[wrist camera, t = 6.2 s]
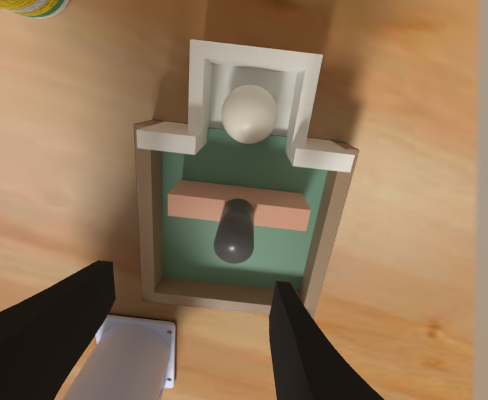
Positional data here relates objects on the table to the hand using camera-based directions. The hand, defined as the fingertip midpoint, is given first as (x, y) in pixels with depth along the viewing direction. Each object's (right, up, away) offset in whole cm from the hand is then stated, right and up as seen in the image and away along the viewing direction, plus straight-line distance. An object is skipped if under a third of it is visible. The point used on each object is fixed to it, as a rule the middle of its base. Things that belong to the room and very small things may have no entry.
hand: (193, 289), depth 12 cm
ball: (+3, +9, +5) cm, 11 cm away
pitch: (+2, +5, +9) cm, 10 cm away
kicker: (+2, +4, +8) cm, 9 cm away
